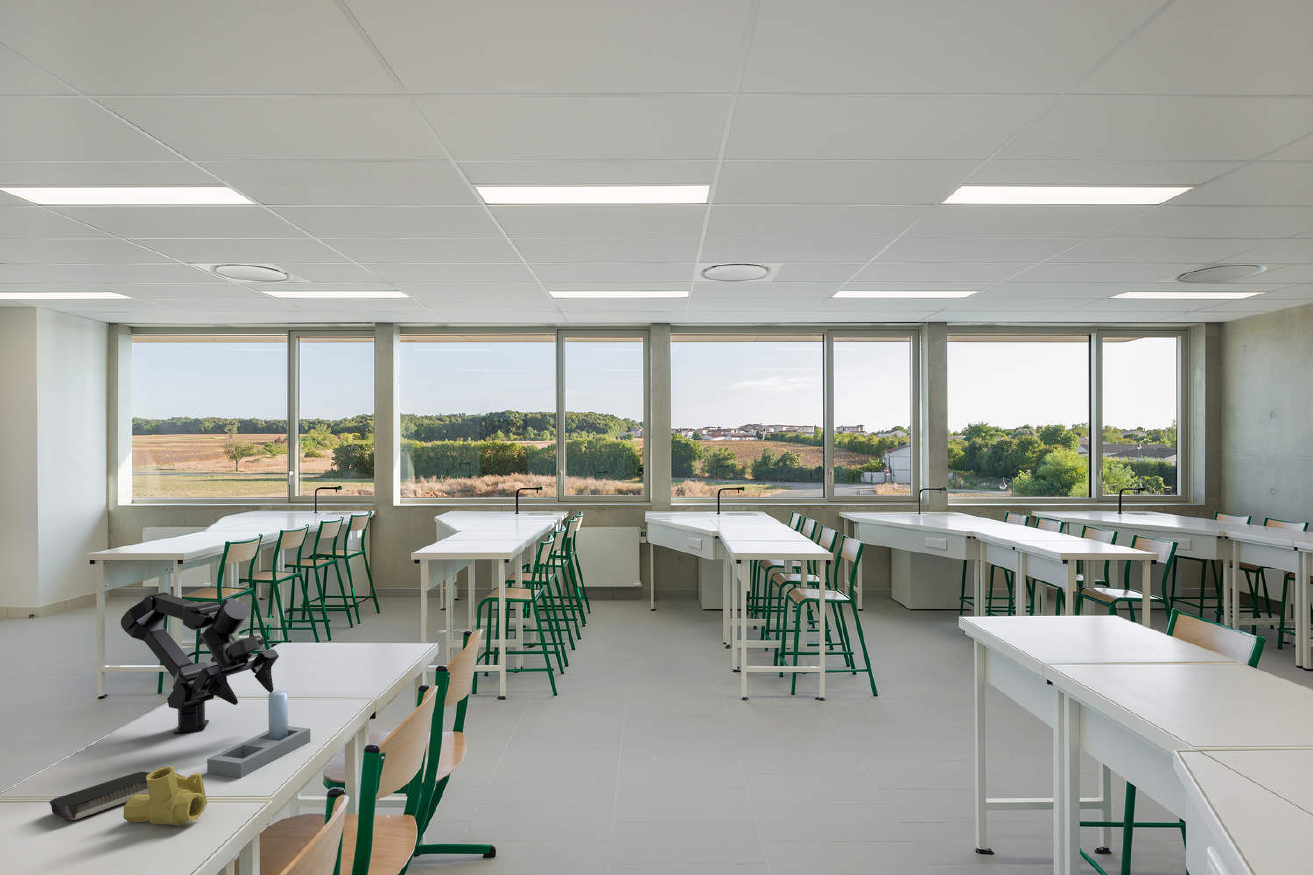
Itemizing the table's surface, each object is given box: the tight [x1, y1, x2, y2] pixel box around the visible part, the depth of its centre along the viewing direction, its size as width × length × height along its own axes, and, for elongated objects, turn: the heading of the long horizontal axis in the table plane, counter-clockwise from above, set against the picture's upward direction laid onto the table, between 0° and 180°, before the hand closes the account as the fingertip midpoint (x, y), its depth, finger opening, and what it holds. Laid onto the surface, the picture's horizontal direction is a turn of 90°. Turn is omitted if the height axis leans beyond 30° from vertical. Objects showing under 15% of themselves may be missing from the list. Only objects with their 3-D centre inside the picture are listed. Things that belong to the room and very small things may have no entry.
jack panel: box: [206, 725, 311, 779], centre depth 167 cm, size 20×9×3 cm, turn 163°
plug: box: [268, 690, 289, 741], centre depth 172 cm, size 4×4×12 cm
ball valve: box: [122, 766, 208, 826], centre depth 140 cm, size 13×10×10 cm
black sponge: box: [49, 771, 151, 821], centre depth 146 cm, size 16×8×4 cm, turn 147°
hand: (254, 697), depth 176 cm, fingers open, 9 cm apart
